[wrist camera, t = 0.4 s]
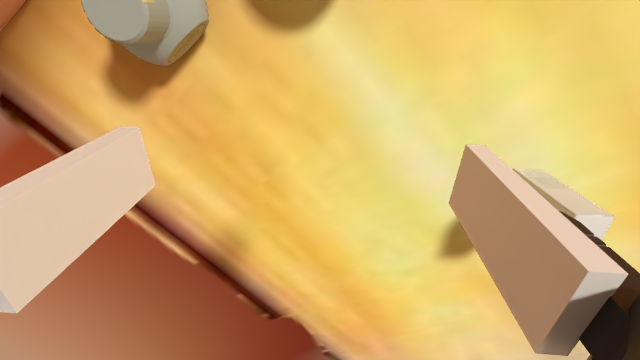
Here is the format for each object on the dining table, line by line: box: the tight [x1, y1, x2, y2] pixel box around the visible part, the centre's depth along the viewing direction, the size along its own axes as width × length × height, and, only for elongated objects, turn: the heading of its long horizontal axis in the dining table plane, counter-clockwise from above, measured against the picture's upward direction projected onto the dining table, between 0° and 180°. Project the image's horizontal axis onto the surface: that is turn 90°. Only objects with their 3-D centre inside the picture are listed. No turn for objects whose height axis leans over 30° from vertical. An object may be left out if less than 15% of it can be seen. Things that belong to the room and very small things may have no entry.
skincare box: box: [513, 169, 614, 240], centre depth 37 cm, size 6×4×12 cm
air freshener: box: [81, 0, 209, 66], centre depth 30 cm, size 11×8×10 cm
